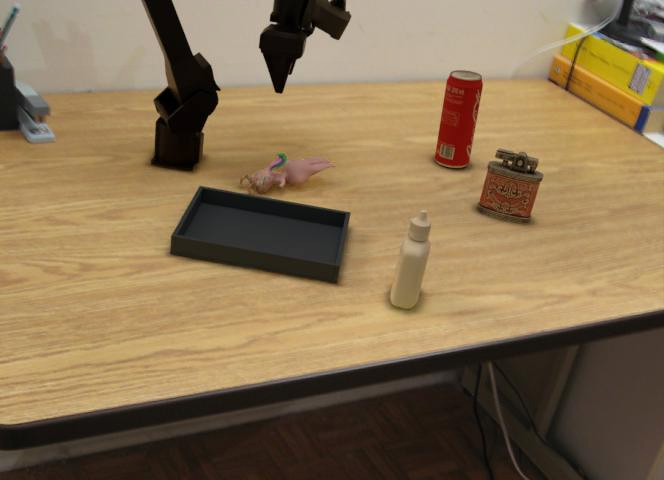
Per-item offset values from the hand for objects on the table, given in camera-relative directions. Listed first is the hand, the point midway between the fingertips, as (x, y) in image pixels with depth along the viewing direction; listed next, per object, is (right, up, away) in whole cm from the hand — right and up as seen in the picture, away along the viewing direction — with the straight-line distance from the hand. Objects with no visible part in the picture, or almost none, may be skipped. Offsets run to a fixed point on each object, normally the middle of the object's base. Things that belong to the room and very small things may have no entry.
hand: (283, 83), depth 132 cm
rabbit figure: (+1, -16, -2) cm, 16 cm away
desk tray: (-3, -25, -17) cm, 31 cm away
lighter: (+33, -20, -2) cm, 39 cm away
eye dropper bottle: (+15, -33, -25) cm, 44 cm away
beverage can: (+28, -10, +13) cm, 32 cm away
